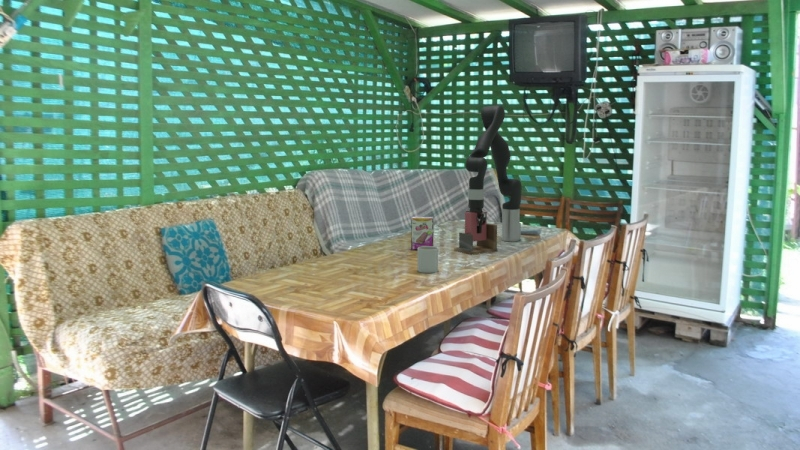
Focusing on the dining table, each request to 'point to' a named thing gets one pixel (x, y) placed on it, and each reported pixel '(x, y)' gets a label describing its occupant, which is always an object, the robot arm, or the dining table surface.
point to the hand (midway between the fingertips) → (475, 232)
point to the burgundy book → (474, 226)
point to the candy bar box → (422, 232)
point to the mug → (427, 259)
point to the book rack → (478, 242)
